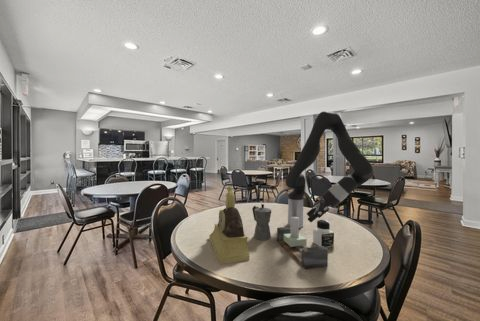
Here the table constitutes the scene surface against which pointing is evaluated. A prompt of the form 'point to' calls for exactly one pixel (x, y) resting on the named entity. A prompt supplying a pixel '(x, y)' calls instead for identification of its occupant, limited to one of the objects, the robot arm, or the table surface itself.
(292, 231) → the carriage
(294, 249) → the rail
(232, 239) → the decorative clock
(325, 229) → the medicine bottle
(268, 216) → the coffeepot
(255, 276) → the table surface
